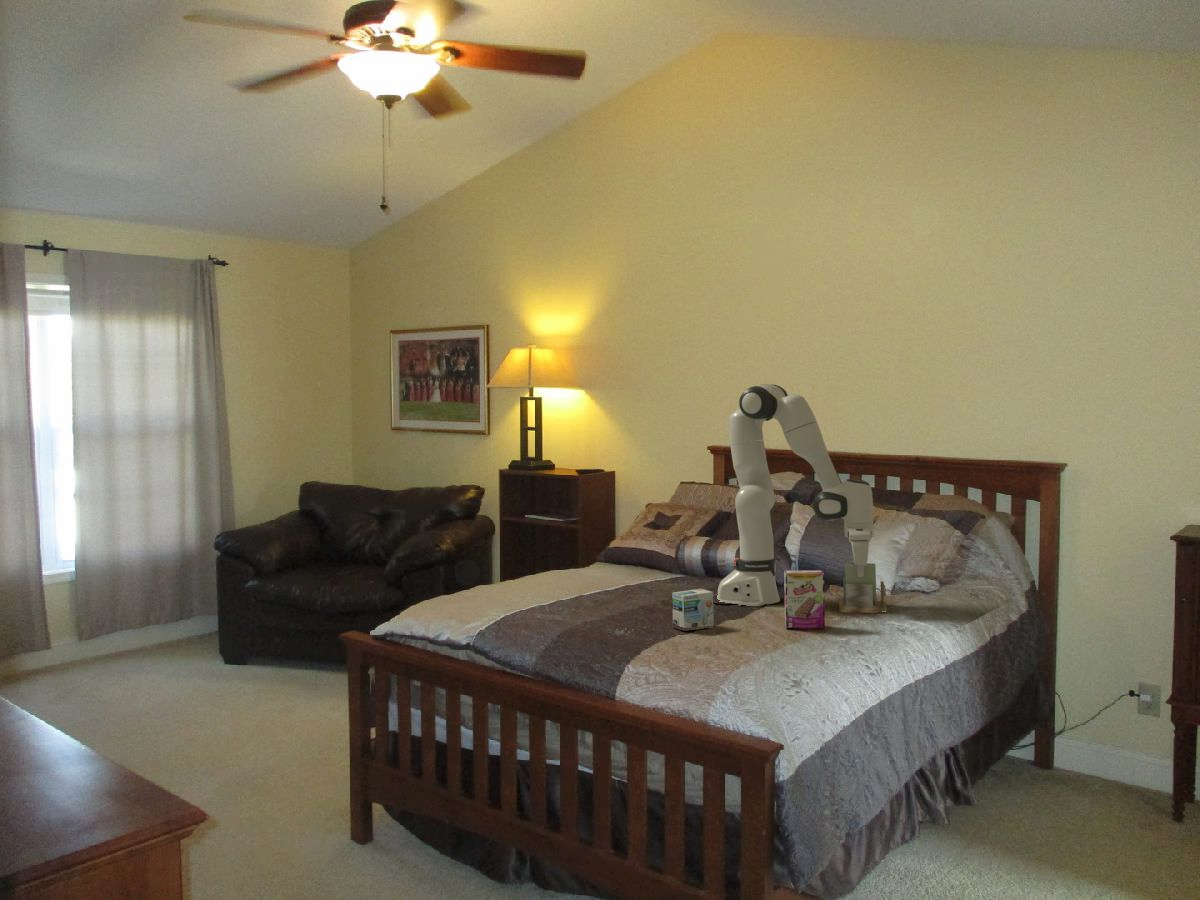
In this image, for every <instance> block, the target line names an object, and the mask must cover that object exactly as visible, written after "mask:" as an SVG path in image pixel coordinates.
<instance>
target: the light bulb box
mask: <svg viewBox="0 0 1200 900" xmlns="http://www.w3.org/2000/svg"><path fill="white" fill-rule="evenodd" d="M671 596H672V597H671V602H672V604H671V605H672V624H673V623H674V624H676V625H678V626H680V627H683V628H691V627H704V626H705V627H706V626H714V627H715V623H714V622H715V620H714V619H715V618H714V614H715V613H714V604H713V596H714V591H710V590H708V589H704V588H695V589H690V590H682V591H675V592H672V593H671Z"/></svg>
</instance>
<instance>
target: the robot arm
mask: <svg viewBox="0 0 1200 900" xmlns="http://www.w3.org/2000/svg"><path fill="white" fill-rule="evenodd" d="M738 401H739V402H738V404H739V405H738V406H739V409H737V410H735V411H733V412H732V413H731V414H730V416H729V419H728V433H729V434H728V436H729V437H728V438H729V444H730V445H729V446H730V451H731V459H732V465H733V467H732V468H733V470H734V472H735V476H736V479H737V483H738V487H739V491H737V493H736V496H735V498H734V499H735V500H734V505H735V510H736V511H735V513H736V514H735V515H736V522H737V529H738V534H739V536H738V537H739V557H736V558H734V559H733V569H734V570H733V571H731V572H730V573H728V575H726V576H725V577H724V578H723V579H722V580H721V581H720V582H719V583H718V584H719V585H718V588H717V594H718V595H717V594H716V595H717V599H718V600H720V601H719V602H725V603H732V604H738V605H737V606H741V605H746V606H745V607H762V606H764V605H765V604H766V605H772V604H776V603H779V602H780V601H781V598H780V596H779V592H778V591H779V590H778V588H777V583H776V573H777V565H776V564H777V563H776V558H775V556H774V554H775V553H774V552H775V551H774V549H775V547H774V533H773V526H772V519H771V510H772V509H773V507H774V506H775V500H776V496H775V492H774V487H773V486H774V485H773V482H772V477H771V473H770V469H769V467H768V461H767V454H766V448H765V441H764V436H763V435H764V434H763V424H764V422H767V421H768V422H769V421H770V420H772V419H775V420H776V421H778V423H779V425H780V427H781V430H782V432H783V435H784V437H785V440H786V442H787V445H788V446H789V448H790V450H791V451H792V452H793V454H795V455H796V456H798V457H801V458H803V460H805V461H806V462H808V463H809V464H810V466H811V467H812V468H813V471H814V473H815V475H816V477H817V480H818V483H819V484H820V486H821V488H822V491H821V492H819V493H818V494H816V495H815V497H814V498H813V501H812V509H813V513H814V514H815V515H816V516H817V517H818V518H819V519H821V520H823V521H834V520H839V519H842V520H843V526H844V529H843V531H844V538H847V539H848V542H849V543H851V544H850V545H851V550H852V555H853V556H852V557H853V562H854V563H855V565H857V573H858V577H863V576H864V565H867V563H868V559H869V548H870V542H871V540H872V538H873V537H874V536H875V533H874V531H875V525H874V517H873V510H874V499H873V498H874V497H873V490H872V486H871V485H870V483H869V482H868V481H866V480H863V479H857V478H847V479H845V480H844V481H843V482H842V480H841V478H840V476H839V474H838V472H837V470H836V468H835V465H834V462H833V461H832V458H831V456H830V454H829V452H828V449H827V447H826V444H825V441H824V438H823V435H822V432H821V428H820V426H819V424H818V421H817V419H816V416H815V415H814V412H813V410H812V408H811V406H810V405H809V403H808V402H807V400H806V398H805V397H803V396H802V395H800V394H788V392H787V391H786V390H785V388H783V387H782V386H780V385H777V384H769V383H768V384H767V383H765V384H759V385H754V386H750V387H748V388H746V389H745V390H743V392H742V393H741V395H740V397H739V400H738Z"/></svg>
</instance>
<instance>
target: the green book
mask: <svg viewBox="0 0 1200 900" xmlns="http://www.w3.org/2000/svg"><path fill="white" fill-rule="evenodd" d="M844 565H845V566H844V568H845V571H844V572H845V578H846V584H872V587H873V601H877V600H878V599H877V573H876V572H877V570H876V569H877V568H876V563H874V562H873V563H872V562H871V563H868V562H867V565H864V576H863V577H858V573H857V565H855V563H851V562H850V563H849V562H848V563H845V564H844Z"/></svg>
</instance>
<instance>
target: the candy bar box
mask: <svg viewBox="0 0 1200 900" xmlns="http://www.w3.org/2000/svg"><path fill="white" fill-rule="evenodd" d="M783 575H784V576H783V581H784V582H783V583H784V585H783V587H784V591H783V592H784V626H785V628H793V629H792V630H825V626H826V624H825V623H826V622H825V619H826V616H825V615H826V614H825V610H826V609H825V608H826V607H825V573H824V571H823V570H784V572H783Z"/></svg>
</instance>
